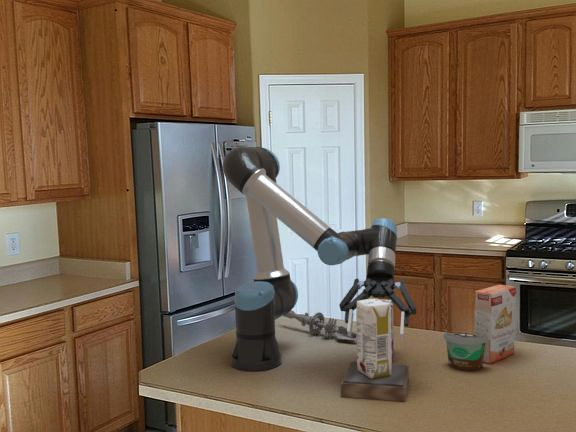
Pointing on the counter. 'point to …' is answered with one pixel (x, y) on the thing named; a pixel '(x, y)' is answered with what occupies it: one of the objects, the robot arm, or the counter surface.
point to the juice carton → (374, 338)
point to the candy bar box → (391, 323)
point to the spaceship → (322, 325)
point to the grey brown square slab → (376, 384)
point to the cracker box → (496, 320)
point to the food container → (465, 351)
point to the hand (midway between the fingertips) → (375, 335)
